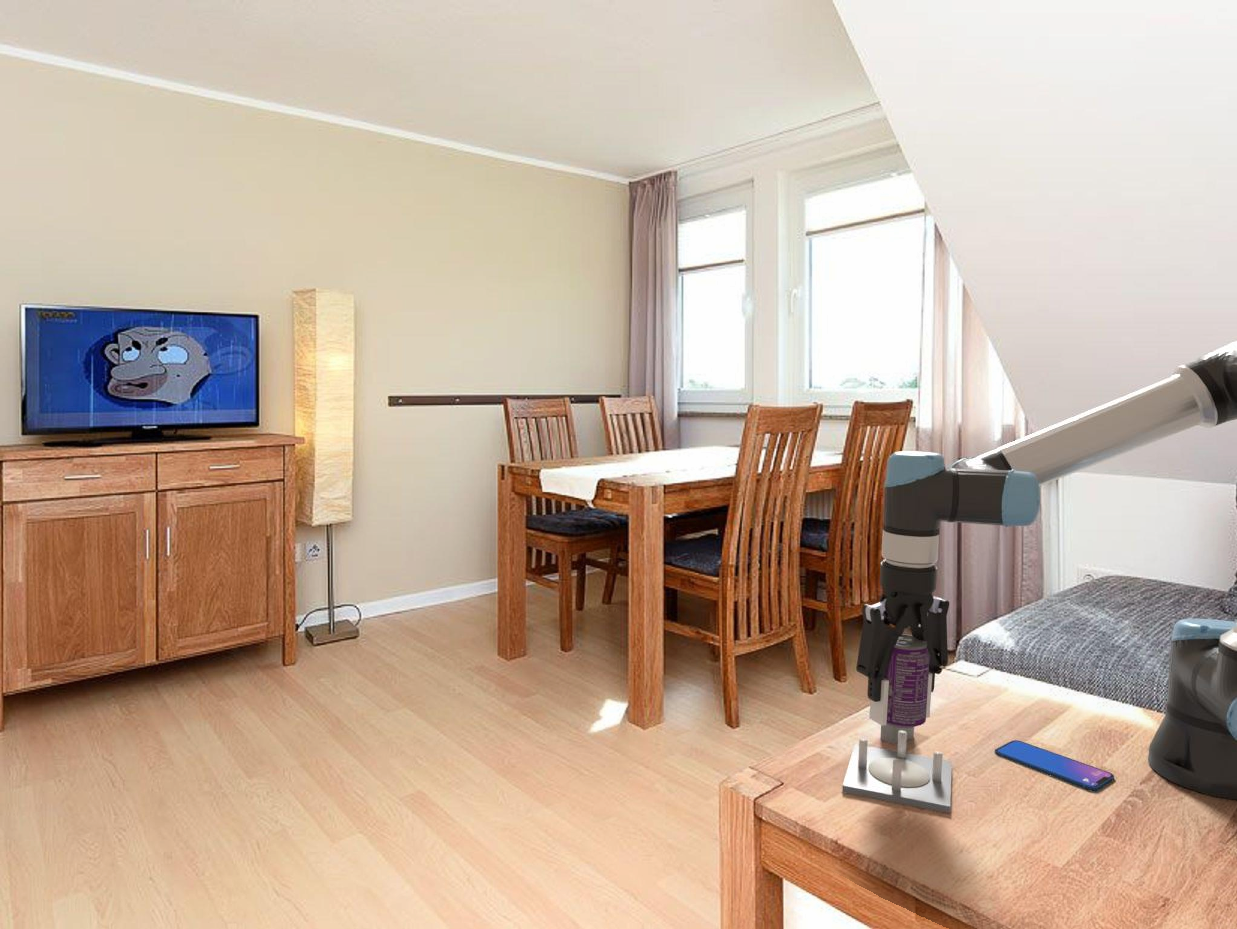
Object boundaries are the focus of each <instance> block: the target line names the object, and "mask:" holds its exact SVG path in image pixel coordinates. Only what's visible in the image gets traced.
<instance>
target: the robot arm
mask: <svg viewBox="0 0 1237 929" xmlns="http://www.w3.org/2000/svg"><path fill="white" fill-rule="evenodd" d="M1235 420H1237V339H1236V340H1233V341H1231V342H1229V343H1227V344H1225V345H1223V346H1221V347H1219V348H1216V349H1214V350H1212V351H1210V352H1208V353H1206V354H1203V355H1202V356H1199V357H1197V358H1195V359H1192V360H1190V361H1189V362H1188V361H1187V362H1186V363H1184V364H1181V365H1178V366H1177V367H1175V368H1174V371H1173V373H1172V375H1171V377H1168V378H1166V379H1163V380H1161V381H1158V382H1156V383H1154V384H1150V385H1149V386H1145V387H1144V388H1141V389H1138V390H1137V391H1134V392H1132V393H1129V394H1127V395H1125V396H1123V397H1120V398H1117V399H1115V400H1112V401H1109V402H1108V403H1105V404H1103V405H1100V406H1098V407H1095V408H1093V409H1090V410H1087V411H1085V412H1083V413H1080V414H1078V415H1076V416H1074V417H1070V418H1068V419H1066V420H1063V421H1061V422H1059V423H1056V424H1054V425H1050V426H1049V427H1047V428H1046V427H1045V428H1044V429H1042V430H1039V431H1036V432H1034V433H1032V434H1029V435H1026V436H1024V437H1022V438H1020V439H1017V440H1015V441H1012V442H1009V443H1007V444H1004V445H1002V446H999V447H997V448H996V449H993V450H990V451H988V452H985V453H983V454H980V455H978V456H975V457H965V458H961V459H958V460H956V461H955V462H953V463H952V464H951V465H950V466H948V467H946V464H945V458H944V456H943V454H940V453H938V452H937V453H936V452H933V451H932V452H930V451H919V450H918V451H917V450H914V451H913V450H904V451H903V450H902V451H895V452H893V453H891V454H890V456H889V457H888V459H887V463H886V470H885V471H886V472H885V481H884V495H883V516H882V518H883V519H882V522H883V523H882V536H881V554H880V555H881V557H882V558H883V560H882V561H881V562H880V571H879V572H880V573H879V585H880V587H881V590H882V591H881V596H880V598H879V600H878V602H876V603H874V604H871V605H870V604H867V603H865V604H863V605H862V607H861V612H862V619H863V623H862V629H861V635H860V641H859V647H858V654H857V661H856V668H855V669H856V671H857V673H859V674H861V675H863V676H865V677H867V698H868V699H869V700H870V702H869V703H870V704H869V716H868V717H869V719H870V720H872V721H874V722H875V723H877V724H878V725H880V727H881V726H884V725H886V723H887V706H888V689H889V680H887V679H885V678H884V677H885V674H886V671H887V668H888V666H889V663H890V660H891V656H892V654H893V652H894V649H895V648H894V645H896V643H897V640H898V638H899V636H901V635H902V634H904V631H905V629H907V628H910V632H911V635H912V636H913V637H915V638H916V639H918V640H920V641H921V640H923V641H926V642H927V647H926V648H927V650H928V653H929V655H930V660H929V677H928V693H927V709H926V719H927V718H930V716H931V715H930V714H931V701H932V693H934V689H935V679H936V678H935V677H936V675H940V674H941V673H942V671H943V668H942V667H946V666H947V665H948V664H949V653H948V652H949V650H948V649H949V648H948V624H947V622H948V621H947V618H948V617H947V615H948V612H949V608H950V602H949V600H946V599H944V598H941V597H938V596H936V595H935V596H934V595H933V593H934V592H935V591H936V588H937V580H938V577H937V576H938V567H937V566H936V564H935V563H937V562H938V561H939V546H940V543H939V542H940V531H941V530H940V528H941V523H942V522H943V523H944V522H945V523H960V524H963V523H964V524H973V525H974V524H976V525H989V526H993V525H994V526H1003V527H1005V528H1009V527H1029V526H1031V525H1033V524H1034V523H1035V521H1036V520H1037V518H1038V516H1039V515H1038V514H1039V511H1040V505H1041V489H1040V488H1041V486H1044V485H1047V484H1048V483H1053V482H1054V481H1057V480H1059V479H1062V478H1065V477H1067V476H1070V475H1072V474H1075V473H1079V471H1083V470H1085V469H1088V468H1091V467H1092V466H1095V465H1096V466H1097V465H1098V464H1100V463H1103V462H1105V461H1108V460H1111V459H1113V458H1117V457H1118V456H1121V455H1124V454H1127V453H1129V452H1132V451H1134V450H1136V449H1139V448H1141V447H1145V446H1147V445H1150V444H1152V443H1154V442H1157V441H1160V440H1162V439H1165V438H1168V437H1170V436H1173V435H1175V434H1178V433H1180V432H1183V431H1185V430H1187V429H1191V428H1193V427H1196V426H1200V427H1204V428H1207V429H1211V428H1214V427H1216V426H1218V425H1222V424H1224V423H1227V422H1231V421H1235ZM1169 643H1171V644H1170V645H1171V646H1170V658H1169V667H1168V668H1169V669H1168V670H1169V671H1168V681H1167V682H1168V683H1167V684H1168V685H1167V696H1166V697H1167V698H1166V709H1165V710H1166V711H1165V715H1164V717H1163V719H1162V721H1161V722H1160V725H1159V727H1158V728H1157V730H1156V732H1155V733H1154V736H1153V738H1152V740H1151V741H1150V743H1149V746H1148V756H1147V762H1148V764H1149V766H1150V767H1151V769H1152V770H1154V771H1155V772H1156V773H1157V774H1159V775H1160V776H1161V777H1163V778H1165V779H1167V780H1169V781H1170V782H1172V783H1175V784H1177V785H1180V786H1182V787H1184V788H1187V789H1189V790H1192V791H1195V792H1199V793H1201V794H1204V795H1205V794H1206V795H1210V796H1213V797H1217V798H1218V797H1219V798H1223V799H1230V800H1237V620H1235V621H1231V620H1225V619H1224V620H1223V619H1222V620H1221V619H1214V618H1213V619H1212V618H1211V619H1210V618H1183V619H1180V620H1178V621H1177V622H1176V623H1175V624H1174V626H1173V631H1172V635H1171V638H1170V642H1169ZM876 668H877V670H876Z"/></svg>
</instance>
